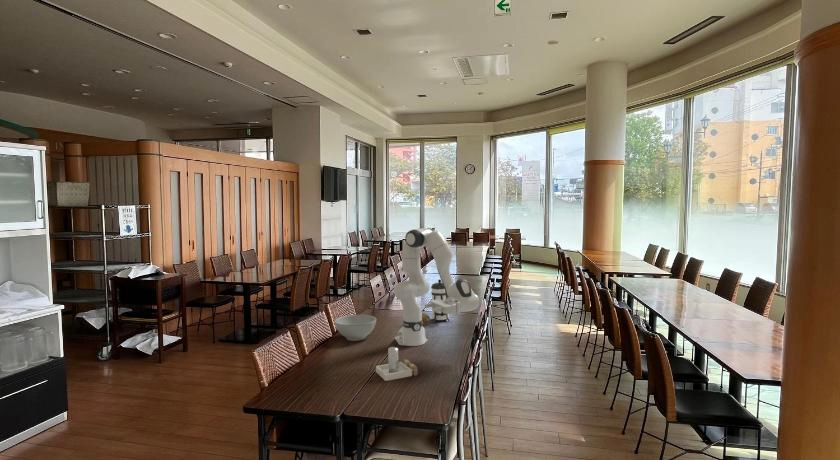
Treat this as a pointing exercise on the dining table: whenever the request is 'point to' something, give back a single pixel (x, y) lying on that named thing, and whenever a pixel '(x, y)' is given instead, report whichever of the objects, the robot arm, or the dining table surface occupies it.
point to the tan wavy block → (411, 366)
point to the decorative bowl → (355, 326)
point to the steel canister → (393, 359)
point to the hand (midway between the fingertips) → (429, 307)
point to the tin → (425, 319)
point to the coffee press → (438, 294)
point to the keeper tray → (384, 373)
